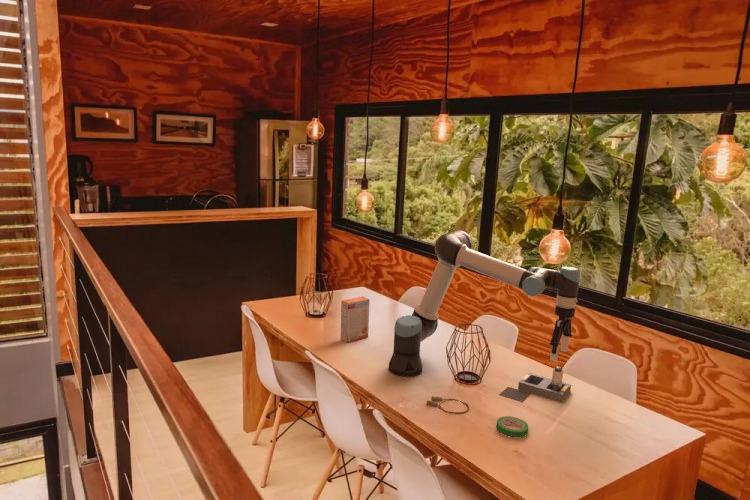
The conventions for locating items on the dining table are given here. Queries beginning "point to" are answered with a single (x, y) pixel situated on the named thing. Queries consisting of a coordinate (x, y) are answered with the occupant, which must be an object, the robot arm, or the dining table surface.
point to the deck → (515, 394)
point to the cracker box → (354, 319)
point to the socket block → (543, 387)
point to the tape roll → (512, 432)
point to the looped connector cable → (442, 402)
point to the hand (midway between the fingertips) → (558, 356)
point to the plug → (557, 379)
